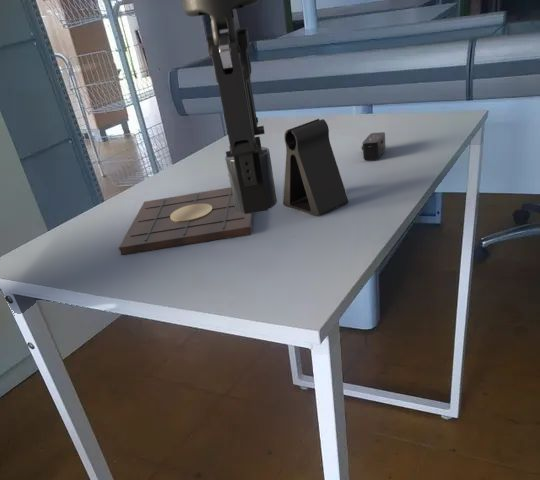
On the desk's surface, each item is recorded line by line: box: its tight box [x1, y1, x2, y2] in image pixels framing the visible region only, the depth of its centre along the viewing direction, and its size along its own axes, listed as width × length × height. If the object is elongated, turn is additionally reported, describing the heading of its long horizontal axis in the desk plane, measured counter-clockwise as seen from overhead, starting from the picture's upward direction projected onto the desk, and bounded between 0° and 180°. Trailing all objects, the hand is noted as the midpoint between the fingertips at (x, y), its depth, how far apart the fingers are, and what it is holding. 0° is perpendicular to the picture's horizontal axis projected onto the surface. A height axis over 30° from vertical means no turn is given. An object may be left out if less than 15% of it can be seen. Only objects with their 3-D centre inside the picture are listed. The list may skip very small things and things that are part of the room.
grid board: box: [118, 186, 254, 255], centre depth 89 cm, size 20×20×1 cm
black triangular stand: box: [282, 118, 349, 217], centre depth 82 cm, size 9×6×12 cm, turn 36°
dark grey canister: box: [225, 146, 278, 213], centre depth 63 cm, size 5×5×6 cm
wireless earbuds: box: [360, 131, 386, 162], centre depth 101 cm, size 5×7×3 cm, turn 156°
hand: (256, 201), depth 64 cm, fingers closed on dark grey canister, 5 cm apart
